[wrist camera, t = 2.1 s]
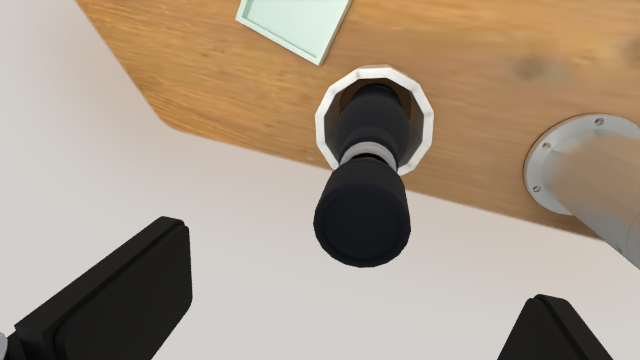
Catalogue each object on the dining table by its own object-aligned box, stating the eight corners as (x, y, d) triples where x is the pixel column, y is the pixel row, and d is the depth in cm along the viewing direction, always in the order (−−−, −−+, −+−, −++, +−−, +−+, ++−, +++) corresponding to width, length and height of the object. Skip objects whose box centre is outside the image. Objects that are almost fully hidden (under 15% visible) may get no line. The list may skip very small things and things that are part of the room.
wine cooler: (436, 91, 38) (458, 105, 27) (388, 163, 42) (391, 201, 31) (359, 47, 37) (350, 44, 26) (319, 124, 42) (297, 149, 31)
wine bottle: (357, 139, 41) (311, 303, 14) (343, 92, 40) (258, 174, 12) (406, 125, 40) (461, 282, 12) (393, 75, 38) (426, 128, 10)
